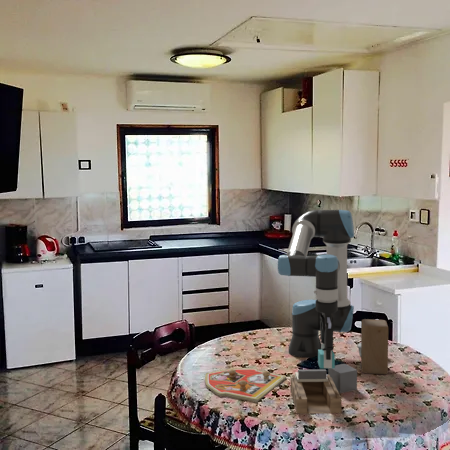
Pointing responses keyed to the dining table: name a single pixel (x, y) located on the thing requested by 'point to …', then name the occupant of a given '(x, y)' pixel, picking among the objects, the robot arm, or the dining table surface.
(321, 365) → the block
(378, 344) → the wooden block
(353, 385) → the stand
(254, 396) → the knob puzzle
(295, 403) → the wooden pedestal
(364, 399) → the dining table surface
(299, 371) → the lid
